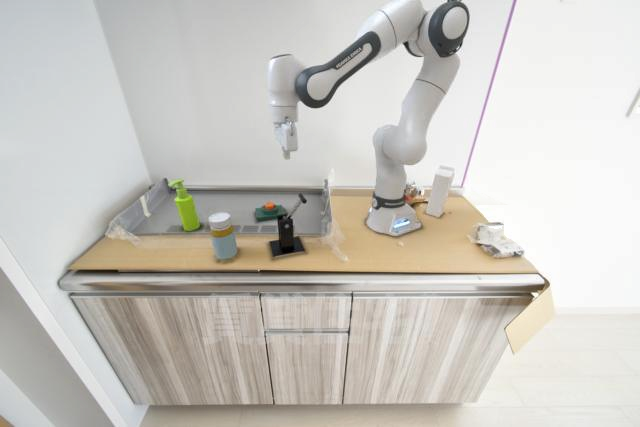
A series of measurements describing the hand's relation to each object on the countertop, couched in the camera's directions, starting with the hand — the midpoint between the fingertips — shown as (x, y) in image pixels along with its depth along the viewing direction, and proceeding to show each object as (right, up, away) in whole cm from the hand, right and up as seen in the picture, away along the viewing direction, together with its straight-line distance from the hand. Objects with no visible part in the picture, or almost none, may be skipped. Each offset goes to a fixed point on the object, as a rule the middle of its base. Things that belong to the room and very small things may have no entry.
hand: (286, 158), depth 83 cm
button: (-10, -17, +22) cm, 30 cm away
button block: (-10, -20, +24) cm, 33 cm away
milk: (+64, -19, +28) cm, 72 cm away
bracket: (0, -32, +3) cm, 32 cm away
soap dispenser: (-40, -25, +14) cm, 50 cm away
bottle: (-20, -34, -1) cm, 39 cm away
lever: (+4, -19, -3) cm, 19 cm away
